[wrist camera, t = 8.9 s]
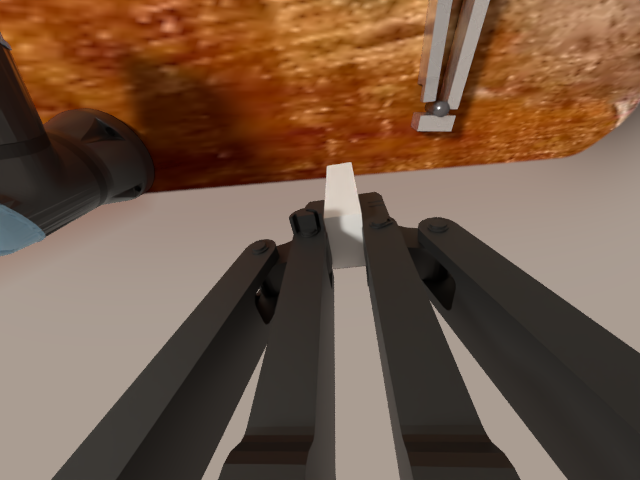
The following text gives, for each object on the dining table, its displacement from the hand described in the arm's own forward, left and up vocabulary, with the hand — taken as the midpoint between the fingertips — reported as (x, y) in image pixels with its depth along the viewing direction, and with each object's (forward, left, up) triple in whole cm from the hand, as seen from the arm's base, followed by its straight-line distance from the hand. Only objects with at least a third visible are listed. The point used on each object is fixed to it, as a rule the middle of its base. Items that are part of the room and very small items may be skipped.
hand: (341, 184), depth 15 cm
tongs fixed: (+14, +9, -26) cm, 31 cm away
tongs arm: (+12, +11, -26) cm, 31 cm away
